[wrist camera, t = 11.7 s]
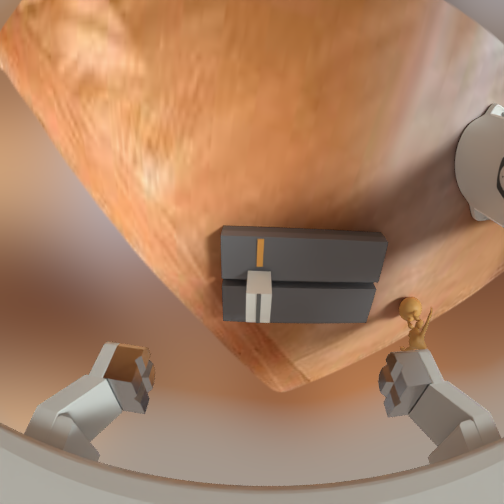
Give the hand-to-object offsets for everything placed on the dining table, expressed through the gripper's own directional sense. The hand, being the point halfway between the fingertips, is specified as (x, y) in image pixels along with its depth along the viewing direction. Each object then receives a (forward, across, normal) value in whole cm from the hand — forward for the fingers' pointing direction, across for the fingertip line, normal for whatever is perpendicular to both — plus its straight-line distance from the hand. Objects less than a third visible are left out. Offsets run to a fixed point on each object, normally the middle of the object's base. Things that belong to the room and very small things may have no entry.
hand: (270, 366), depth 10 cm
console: (+31, -6, +16) cm, 35 cm away
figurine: (+31, -24, +21) cm, 45 cm away
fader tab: (+29, 0, +16) cm, 33 cm away
